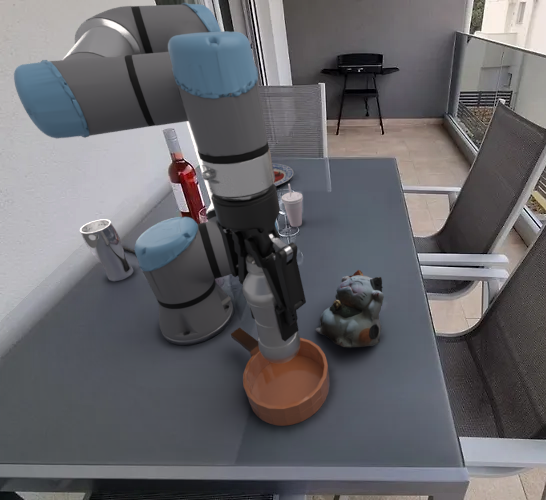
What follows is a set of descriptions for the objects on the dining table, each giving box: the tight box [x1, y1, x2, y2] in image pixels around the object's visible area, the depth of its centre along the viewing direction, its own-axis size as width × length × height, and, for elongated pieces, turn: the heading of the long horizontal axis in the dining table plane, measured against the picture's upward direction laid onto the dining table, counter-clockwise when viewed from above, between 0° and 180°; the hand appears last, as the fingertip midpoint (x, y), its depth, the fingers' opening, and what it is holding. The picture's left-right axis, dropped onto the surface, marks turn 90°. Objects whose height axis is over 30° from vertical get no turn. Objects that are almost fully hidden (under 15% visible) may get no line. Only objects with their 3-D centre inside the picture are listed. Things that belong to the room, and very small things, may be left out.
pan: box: [242, 337, 331, 427], centre depth 62 cm, size 14×14×5 cm
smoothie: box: [281, 183, 304, 228], centre depth 107 cm, size 6×6×14 cm
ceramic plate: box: [272, 163, 294, 187], centre depth 140 cm, size 26×26×3 cm
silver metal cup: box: [79, 218, 134, 282], centre depth 89 cm, size 7×7×15 cm
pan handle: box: [230, 327, 260, 358], centre depth 67 cm, size 8×3×3 cm, turn 50°
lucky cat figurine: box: [315, 269, 385, 348], centre depth 71 cm, size 15×12×14 cm
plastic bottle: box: [242, 253, 301, 364], centre depth 52 cm, size 6×7×20 cm
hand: (274, 323), depth 54 cm, fingers closed on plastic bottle, 6 cm apart
